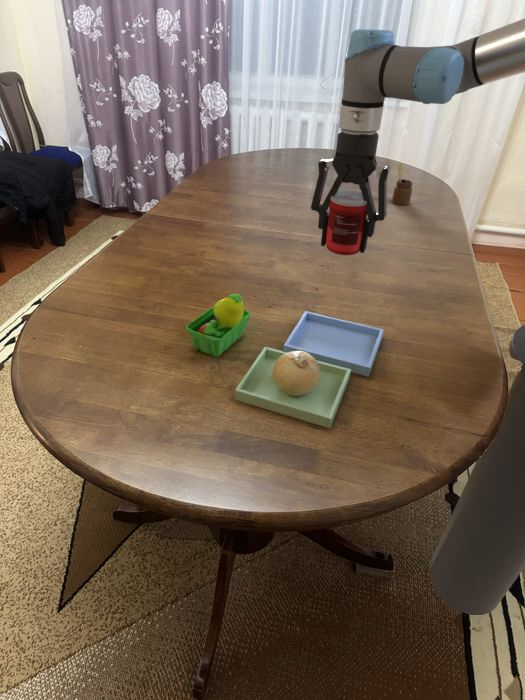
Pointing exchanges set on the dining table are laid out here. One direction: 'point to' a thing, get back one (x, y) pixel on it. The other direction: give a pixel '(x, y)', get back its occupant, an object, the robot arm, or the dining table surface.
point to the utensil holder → (402, 189)
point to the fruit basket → (219, 326)
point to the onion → (296, 373)
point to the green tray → (305, 407)
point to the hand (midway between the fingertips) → (343, 246)
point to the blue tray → (336, 342)
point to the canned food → (346, 222)
